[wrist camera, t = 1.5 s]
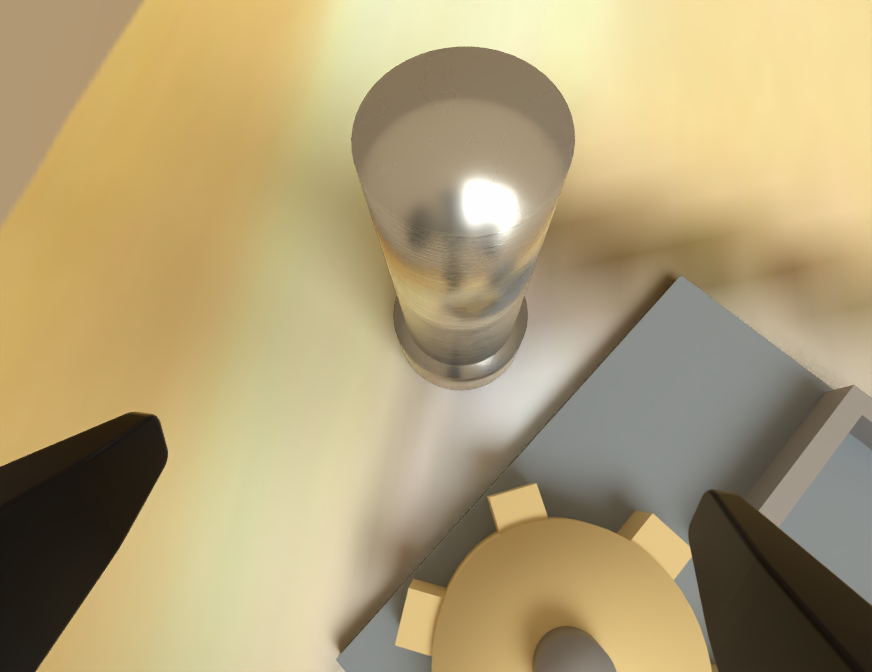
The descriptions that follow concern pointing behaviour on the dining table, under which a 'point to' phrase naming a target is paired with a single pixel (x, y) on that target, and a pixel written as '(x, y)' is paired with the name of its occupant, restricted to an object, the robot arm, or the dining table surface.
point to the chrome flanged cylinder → (462, 201)
